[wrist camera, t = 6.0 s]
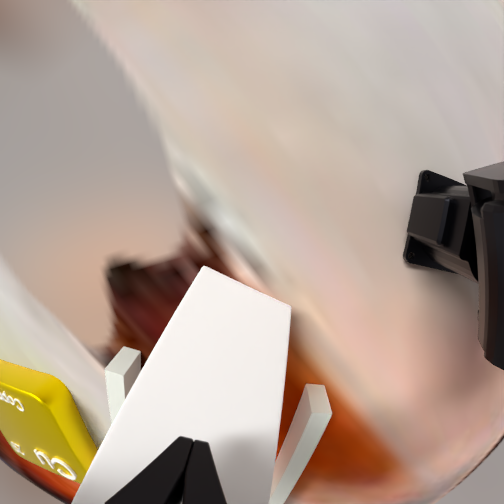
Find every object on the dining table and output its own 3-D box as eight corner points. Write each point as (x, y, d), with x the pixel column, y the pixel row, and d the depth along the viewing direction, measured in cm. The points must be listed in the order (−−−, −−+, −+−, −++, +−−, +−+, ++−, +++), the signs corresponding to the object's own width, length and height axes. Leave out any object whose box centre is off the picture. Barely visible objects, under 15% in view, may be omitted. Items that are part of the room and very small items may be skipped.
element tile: (66, 375, 23) (41, 402, 18) (110, 468, 26) (97, 494, 21) (-13, 352, 23) (-36, 368, 19) (29, 438, 26) (14, 456, 22)
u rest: (324, 385, 21) (332, 413, 18) (263, 513, 26) (262, 534, 22) (123, 346, 21) (104, 369, 18) (138, 489, 26) (131, 508, 22)
